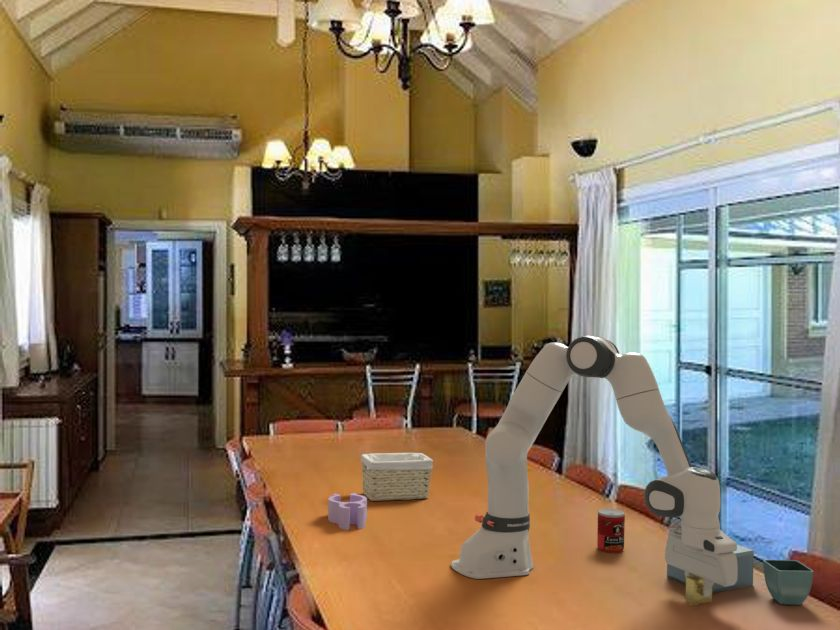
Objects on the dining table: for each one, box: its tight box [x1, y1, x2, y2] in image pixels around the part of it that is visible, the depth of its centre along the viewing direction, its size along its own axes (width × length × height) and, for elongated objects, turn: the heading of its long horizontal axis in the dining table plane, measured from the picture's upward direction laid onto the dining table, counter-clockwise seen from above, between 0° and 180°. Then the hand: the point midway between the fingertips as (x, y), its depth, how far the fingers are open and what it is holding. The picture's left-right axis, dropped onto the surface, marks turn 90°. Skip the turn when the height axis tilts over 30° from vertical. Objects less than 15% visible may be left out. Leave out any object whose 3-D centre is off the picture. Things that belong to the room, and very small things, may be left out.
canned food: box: [596, 508, 626, 554], centre depth 247 cm, size 8×8×11 cm
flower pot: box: [762, 559, 815, 606], centre depth 206 cm, size 9×9×9 cm
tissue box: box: [666, 544, 755, 594], centre depth 220 cm, size 16×14×9 cm
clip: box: [327, 492, 368, 531], centre depth 273 cm, size 20×12×7 cm, turn 14°
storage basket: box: [360, 452, 434, 502], centre depth 308 cm, size 24×16×15 cm
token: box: [685, 576, 713, 606], centre depth 205 cm, size 6×2×6 cm, turn 117°
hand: (698, 593), depth 205 cm, fingers closed on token, 2 cm apart
